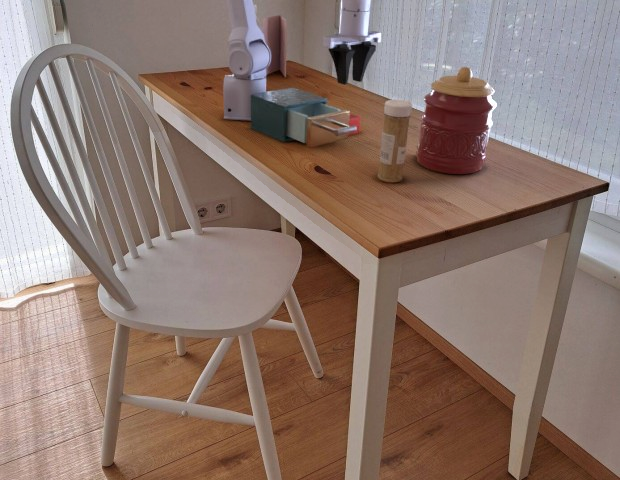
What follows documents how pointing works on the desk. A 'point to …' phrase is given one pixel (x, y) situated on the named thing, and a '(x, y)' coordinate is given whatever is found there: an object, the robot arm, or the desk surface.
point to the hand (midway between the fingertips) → (349, 82)
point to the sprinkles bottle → (394, 140)
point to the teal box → (278, 110)
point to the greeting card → (276, 42)
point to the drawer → (318, 124)
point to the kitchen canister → (456, 124)
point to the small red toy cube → (354, 123)
